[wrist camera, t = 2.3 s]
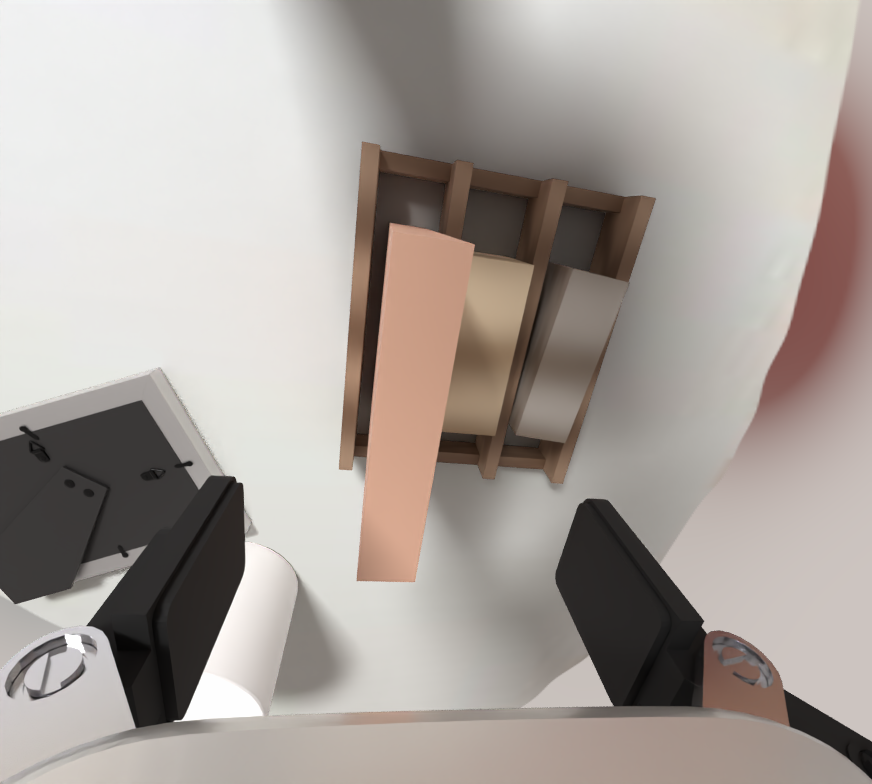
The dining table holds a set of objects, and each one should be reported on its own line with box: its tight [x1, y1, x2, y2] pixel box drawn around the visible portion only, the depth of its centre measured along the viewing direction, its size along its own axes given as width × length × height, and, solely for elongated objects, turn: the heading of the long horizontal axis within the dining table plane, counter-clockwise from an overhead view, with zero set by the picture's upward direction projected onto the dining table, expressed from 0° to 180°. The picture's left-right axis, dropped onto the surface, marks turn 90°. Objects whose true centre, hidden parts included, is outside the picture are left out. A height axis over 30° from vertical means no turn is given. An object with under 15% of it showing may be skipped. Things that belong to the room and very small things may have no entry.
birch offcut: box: [442, 252, 534, 436], centre depth 29 cm, size 12×4×6 cm, turn 172°
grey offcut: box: [509, 262, 629, 443], centre depth 30 cm, size 12×4×6 cm, turn 167°
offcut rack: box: [339, 142, 656, 484], centre depth 30 cm, size 22×18×4 cm
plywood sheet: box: [357, 223, 475, 582], centre depth 23 cm, size 14×2×18 cm, turn 171°
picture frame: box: [0, 367, 251, 604], centre depth 33 cm, size 16×3×21 cm
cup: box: [174, 541, 298, 722], centre depth 34 cm, size 12×12×12 cm
